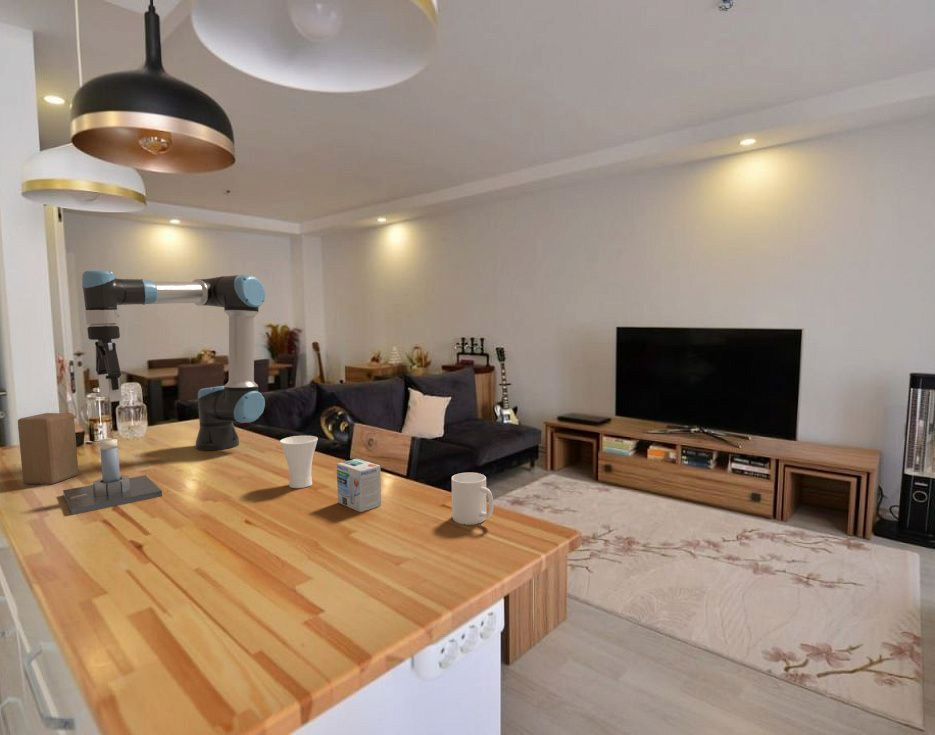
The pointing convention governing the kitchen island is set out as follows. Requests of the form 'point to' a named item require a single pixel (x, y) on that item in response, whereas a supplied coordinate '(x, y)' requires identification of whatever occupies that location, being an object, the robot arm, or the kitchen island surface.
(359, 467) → the light bulb box
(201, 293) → the robot arm
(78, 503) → the base plate
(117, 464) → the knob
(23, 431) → the wooden block
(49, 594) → the kitchen island surface
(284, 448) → the cup
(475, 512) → the cup
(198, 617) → the kitchen island surface
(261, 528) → the kitchen island surface
